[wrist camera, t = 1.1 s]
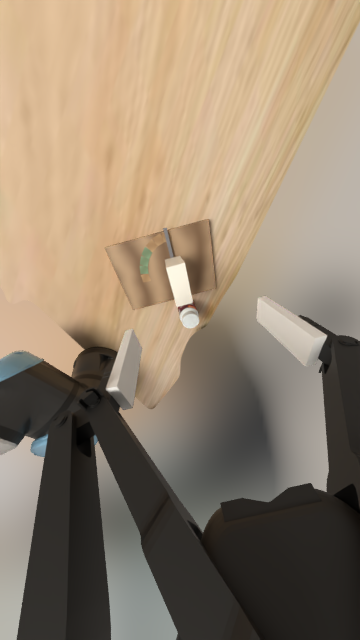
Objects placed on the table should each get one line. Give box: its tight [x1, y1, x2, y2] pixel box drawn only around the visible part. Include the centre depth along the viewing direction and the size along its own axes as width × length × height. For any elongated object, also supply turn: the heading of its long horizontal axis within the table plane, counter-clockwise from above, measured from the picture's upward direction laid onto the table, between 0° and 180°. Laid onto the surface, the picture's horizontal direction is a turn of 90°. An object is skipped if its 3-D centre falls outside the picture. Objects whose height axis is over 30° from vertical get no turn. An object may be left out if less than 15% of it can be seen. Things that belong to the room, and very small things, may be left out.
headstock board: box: [105, 219, 216, 310], centre depth 35 cm, size 22×15×2 cm
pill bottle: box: [178, 302, 199, 328], centre depth 38 cm, size 5×5×8 cm
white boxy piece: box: [163, 228, 193, 307], centre depth 28 cm, size 3×12×11 cm, turn 13°
